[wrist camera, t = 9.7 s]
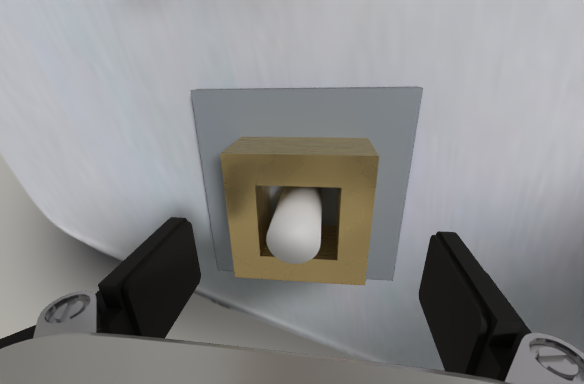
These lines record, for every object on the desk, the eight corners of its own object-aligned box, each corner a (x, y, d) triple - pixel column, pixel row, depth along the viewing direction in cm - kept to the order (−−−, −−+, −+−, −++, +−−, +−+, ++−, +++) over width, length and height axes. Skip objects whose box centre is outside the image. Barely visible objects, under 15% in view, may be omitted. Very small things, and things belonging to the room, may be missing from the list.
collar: (368, 137, 15) (379, 155, 12) (357, 246, 18) (364, 285, 15) (241, 136, 16) (220, 153, 13) (250, 241, 19) (235, 277, 16)
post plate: (417, 86, 15) (470, 97, 9) (389, 270, 20) (414, 348, 14) (198, 89, 16) (132, 99, 11) (222, 261, 21) (185, 329, 15)
